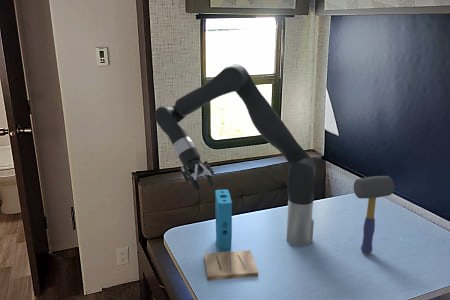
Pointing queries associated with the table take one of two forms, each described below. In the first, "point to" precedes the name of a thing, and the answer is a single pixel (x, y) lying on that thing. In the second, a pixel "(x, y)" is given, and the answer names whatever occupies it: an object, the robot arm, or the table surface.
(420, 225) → the table surface
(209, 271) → the oak board
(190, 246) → the table surface
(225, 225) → the block
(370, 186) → the rubber mallet
